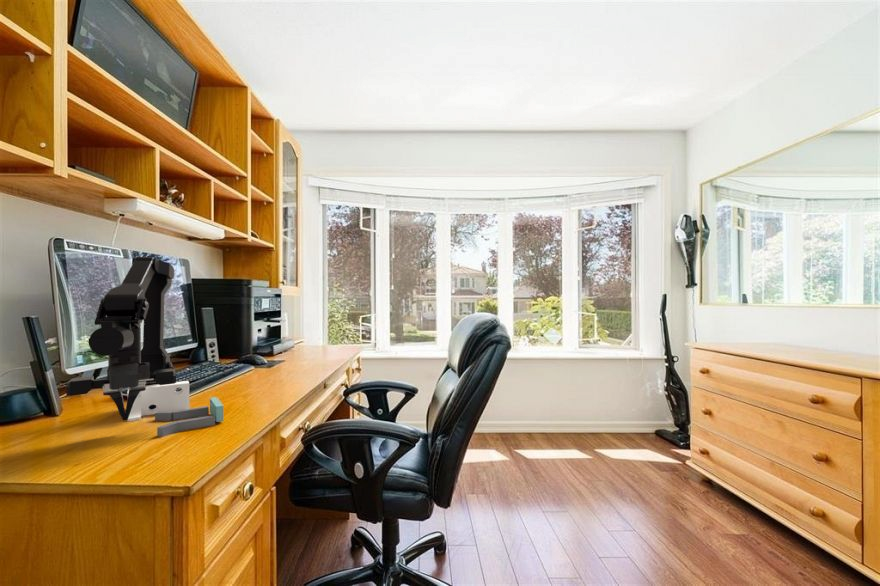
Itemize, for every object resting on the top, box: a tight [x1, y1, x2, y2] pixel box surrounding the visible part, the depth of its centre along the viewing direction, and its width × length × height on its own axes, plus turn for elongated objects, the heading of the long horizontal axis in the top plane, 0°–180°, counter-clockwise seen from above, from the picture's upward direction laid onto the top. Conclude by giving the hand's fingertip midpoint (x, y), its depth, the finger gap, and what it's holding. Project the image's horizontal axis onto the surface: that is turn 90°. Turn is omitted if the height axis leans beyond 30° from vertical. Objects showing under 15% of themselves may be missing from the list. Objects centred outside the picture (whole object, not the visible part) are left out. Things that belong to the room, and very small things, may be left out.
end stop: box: [209, 396, 224, 423], centre depth 100 cm, size 10×2×4 cm, turn 37°
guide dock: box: [154, 405, 216, 438], centre depth 96 cm, size 16×11×2 cm
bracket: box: [126, 380, 191, 422], centre depth 104 cm, size 13×7×8 cm
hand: (125, 420), depth 90 cm, fingers closed
